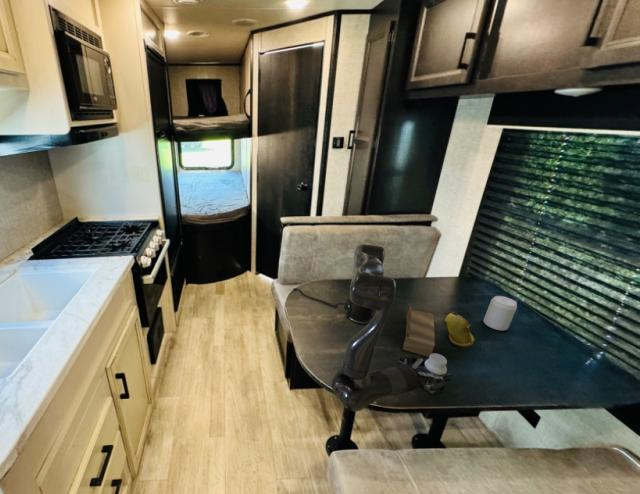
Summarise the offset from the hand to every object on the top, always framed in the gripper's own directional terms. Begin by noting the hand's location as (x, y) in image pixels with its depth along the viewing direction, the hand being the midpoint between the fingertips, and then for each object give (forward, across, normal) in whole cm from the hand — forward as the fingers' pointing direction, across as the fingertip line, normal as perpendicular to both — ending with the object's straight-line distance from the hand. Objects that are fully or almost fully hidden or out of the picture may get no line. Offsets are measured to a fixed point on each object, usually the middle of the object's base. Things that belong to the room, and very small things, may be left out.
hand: (440, 368), depth 99 cm
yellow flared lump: (+23, +13, +7) cm, 27 cm away
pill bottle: (-2, 0, +7) cm, 7 cm away
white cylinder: (+48, +17, +7) cm, 51 cm away
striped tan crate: (+11, +20, +6) cm, 24 cm away
